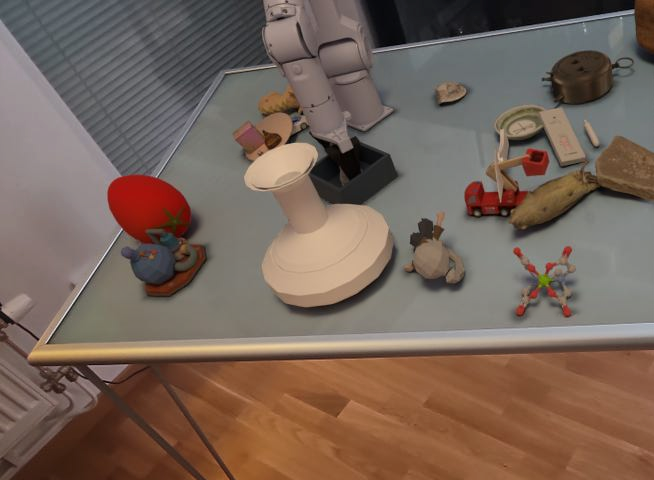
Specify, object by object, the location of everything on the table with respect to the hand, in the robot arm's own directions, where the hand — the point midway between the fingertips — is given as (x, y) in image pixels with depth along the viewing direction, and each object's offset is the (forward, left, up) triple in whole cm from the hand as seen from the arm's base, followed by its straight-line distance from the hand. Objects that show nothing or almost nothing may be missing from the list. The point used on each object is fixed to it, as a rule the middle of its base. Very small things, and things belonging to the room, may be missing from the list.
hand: (348, 170), depth 107 cm
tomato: (-29, -29, +4) cm, 41 cm away
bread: (+35, +57, +10) cm, 67 cm away
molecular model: (+52, -1, -1) cm, 52 cm away
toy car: (-29, +3, -3) cm, 29 cm away
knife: (+27, +11, +4) cm, 29 cm away
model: (-11, -32, -3) cm, 34 cm away
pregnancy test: (+27, +25, -2) cm, 37 cm away
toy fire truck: (+30, +8, -3) cm, 32 cm away
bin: (0, 0, -3) cm, 3 cm away
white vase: (+16, -16, -3) cm, 23 cm away
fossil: (-7, +27, -1) cm, 28 cm away
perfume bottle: (-29, 0, -1) cm, 29 cm away
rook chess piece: (0, 0, -3) cm, 3 cm away
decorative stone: (+52, +24, +1) cm, 58 cm away
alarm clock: (+15, +36, 0) cm, 39 cm away
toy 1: (-38, +4, -1) cm, 38 cm away
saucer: (+18, +25, -3) cm, 31 cm away
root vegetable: (+39, +12, +2) cm, 41 cm away
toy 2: (+29, -7, -3) cm, 30 cm away
